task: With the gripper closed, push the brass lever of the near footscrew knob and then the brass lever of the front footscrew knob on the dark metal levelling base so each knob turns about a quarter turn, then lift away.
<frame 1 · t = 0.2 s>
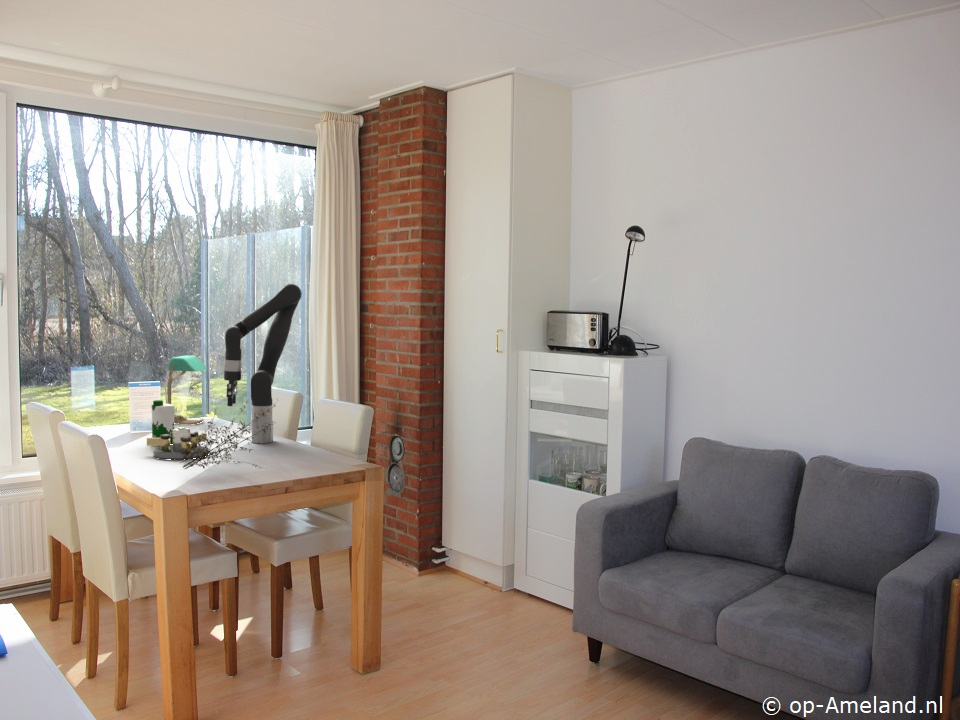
hand: (231, 404, 367), 17 cm above the table, tool pointing down, fingers open, 8 cm apart
dried plant: (231, 469, 313), on the table
knob near: (197, 439, 345), point 5 cm above the table, hinge at 0.0°
banker's lamp: (183, 423, 418), on the table
knob left: (187, 445, 330), point 5 cm above the table, hinge at 0.0°
knob front: (159, 442, 336), point 5 cm above the table, hinge at 0.0°
milk carton: (163, 445, 359), on the table
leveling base: (181, 455, 337), on the table
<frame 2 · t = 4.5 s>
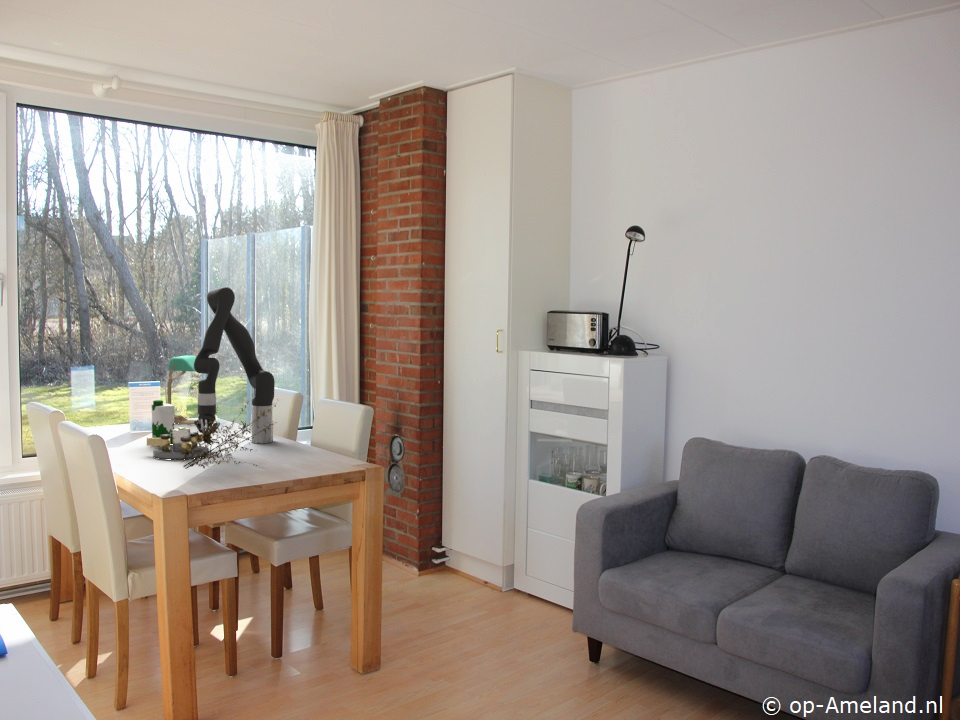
hand: (207, 442, 347), 4 cm above the table, tool pointing down, fingers closed
knob near: (197, 439, 345), point 5 cm above the table, hinge at 5.6°, touching gripper
everything else where it was.
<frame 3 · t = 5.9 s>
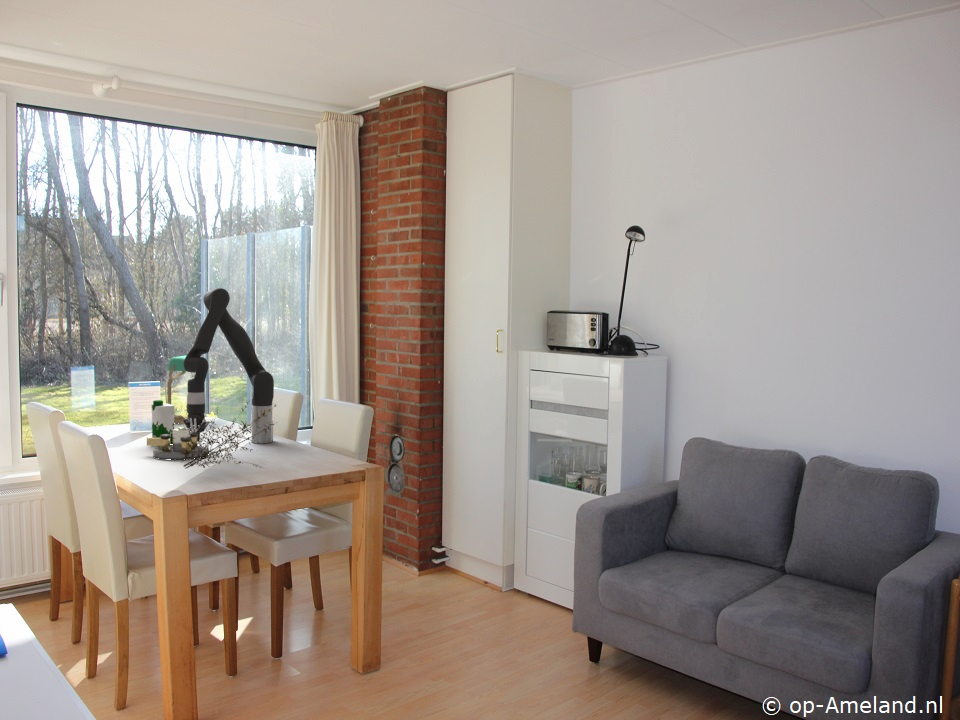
hand: (196, 441, 349), 4 cm above the table, tool pointing down, fingers closed
knob near: (191, 439, 345), point 5 cm above the table, hinge at 56.7°, touching gripper
everything else where it was.
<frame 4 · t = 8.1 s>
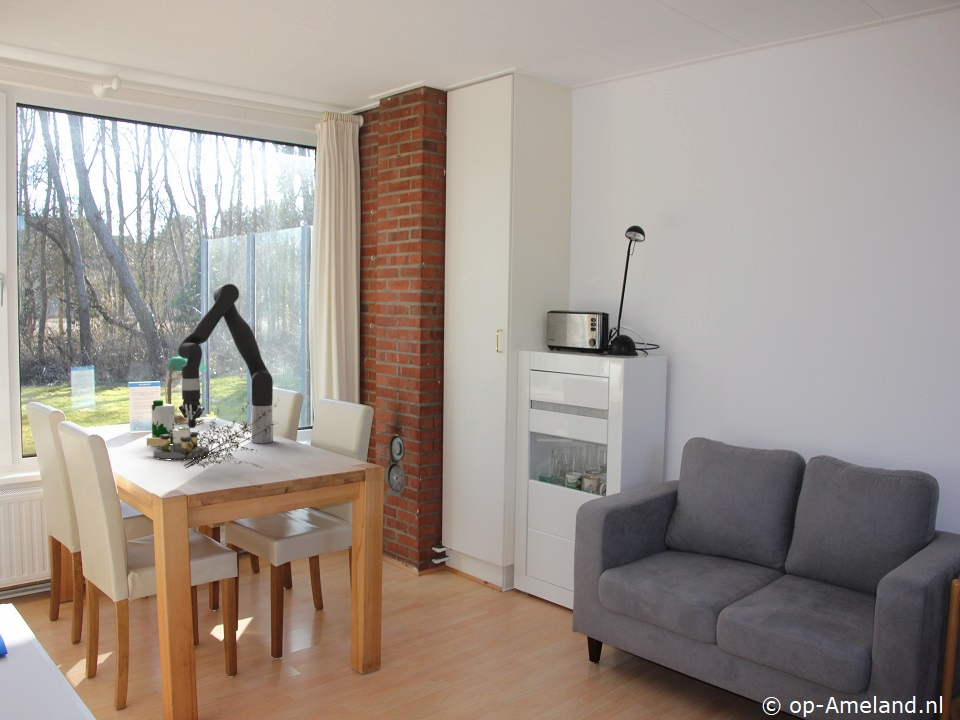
hand: (192, 427, 350), 9 cm above the table, tool pointing down, fingers closed
knob near: (191, 439, 345), point 5 cm above the table, hinge at 60.5°
everything else where it was.
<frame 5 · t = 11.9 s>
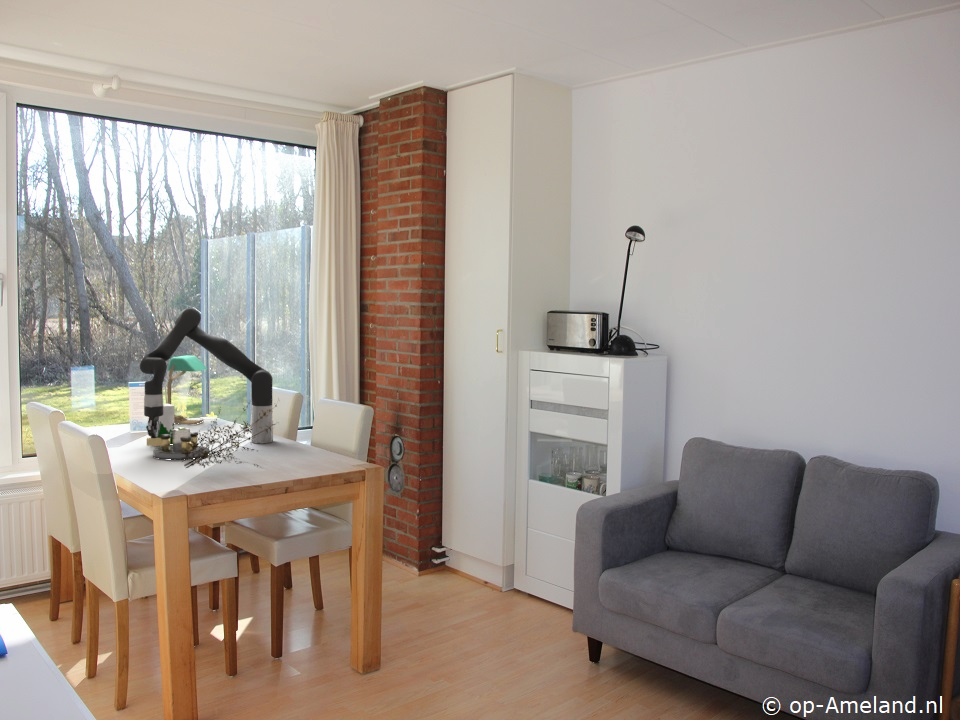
hand: (154, 445, 339), 4 cm above the table, tool pointing down, fingers closed
knob front: (159, 442, 336), point 5 cm above the table, hinge at 1.3°, touching gripper
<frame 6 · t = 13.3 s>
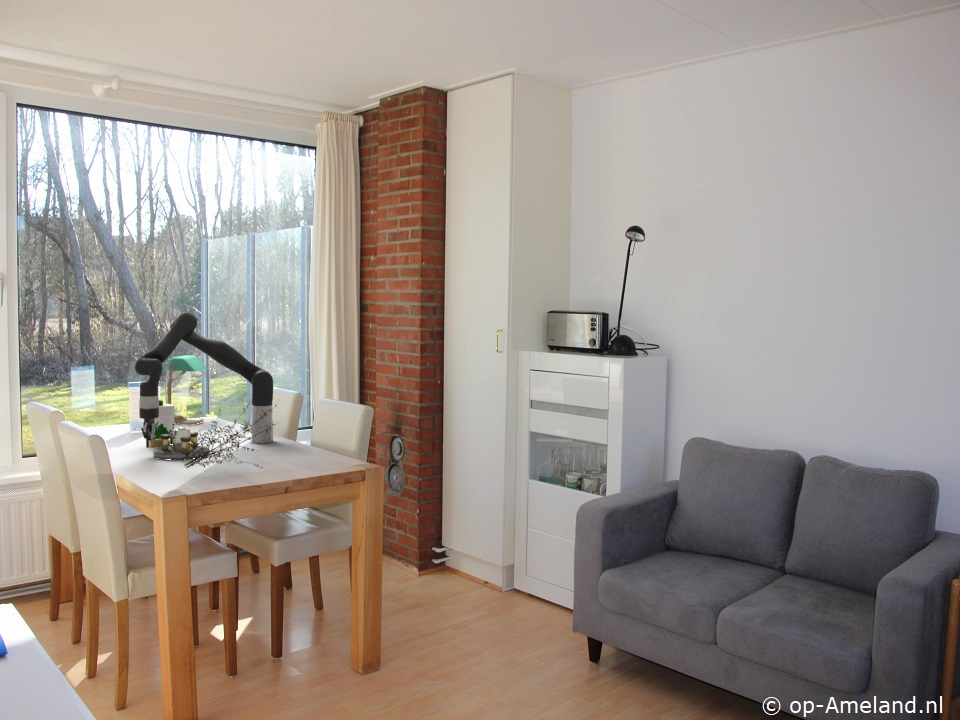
hand: (149, 447, 333), 4 cm above the table, tool pointing down, fingers closed
knob front: (160, 443, 334), point 5 cm above the table, hinge at 50.6°, touching gripper
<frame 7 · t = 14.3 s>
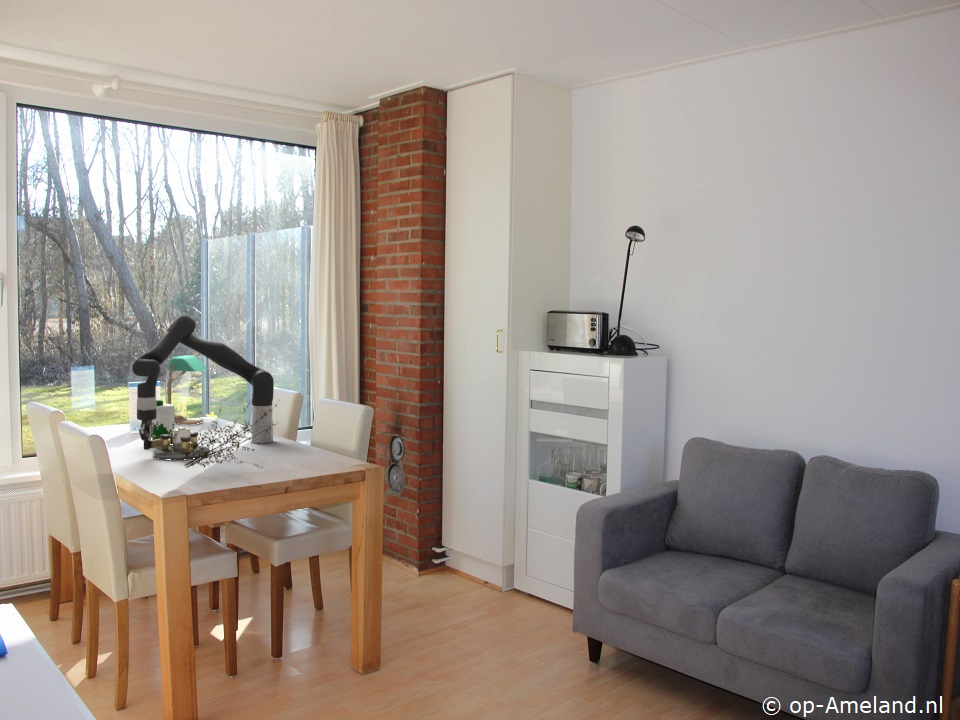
hand: (147, 449, 330), 4 cm above the table, tool pointing down, fingers closed
knob front: (160, 443, 334), point 5 cm above the table, hinge at 57.0°, touching gripper
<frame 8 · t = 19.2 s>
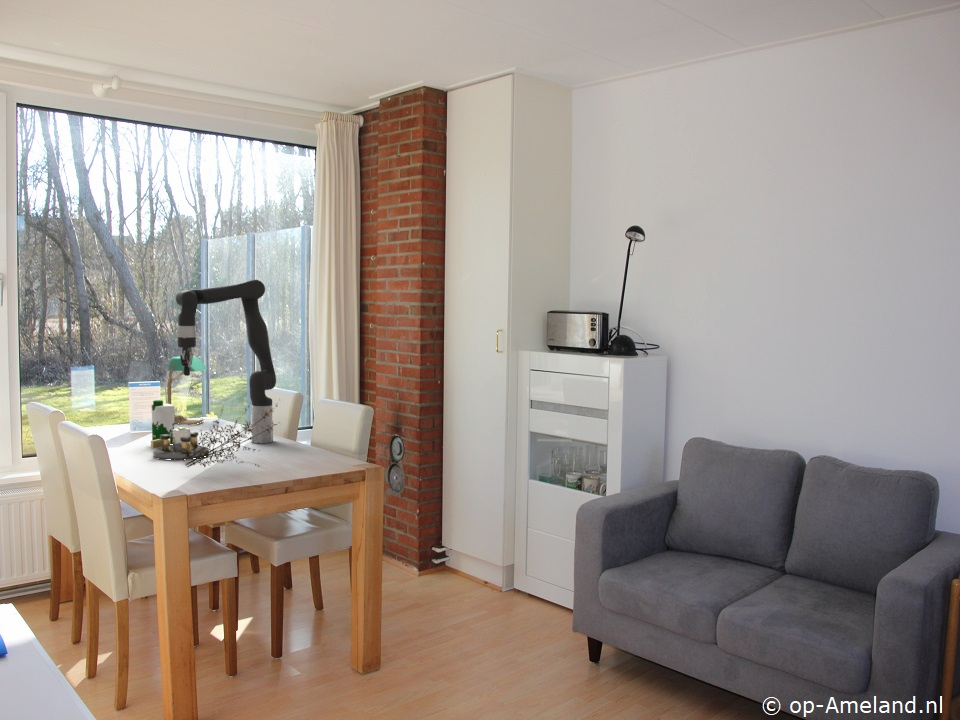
hand: (187, 375, 351), 32 cm above the table, tool pointing down, fingers closed
knob front: (160, 443, 334), point 5 cm above the table, hinge at 61.6°
at the end: knob near at +60° (first picture: +0°); knob front at +62° (first picture: +0°) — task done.
